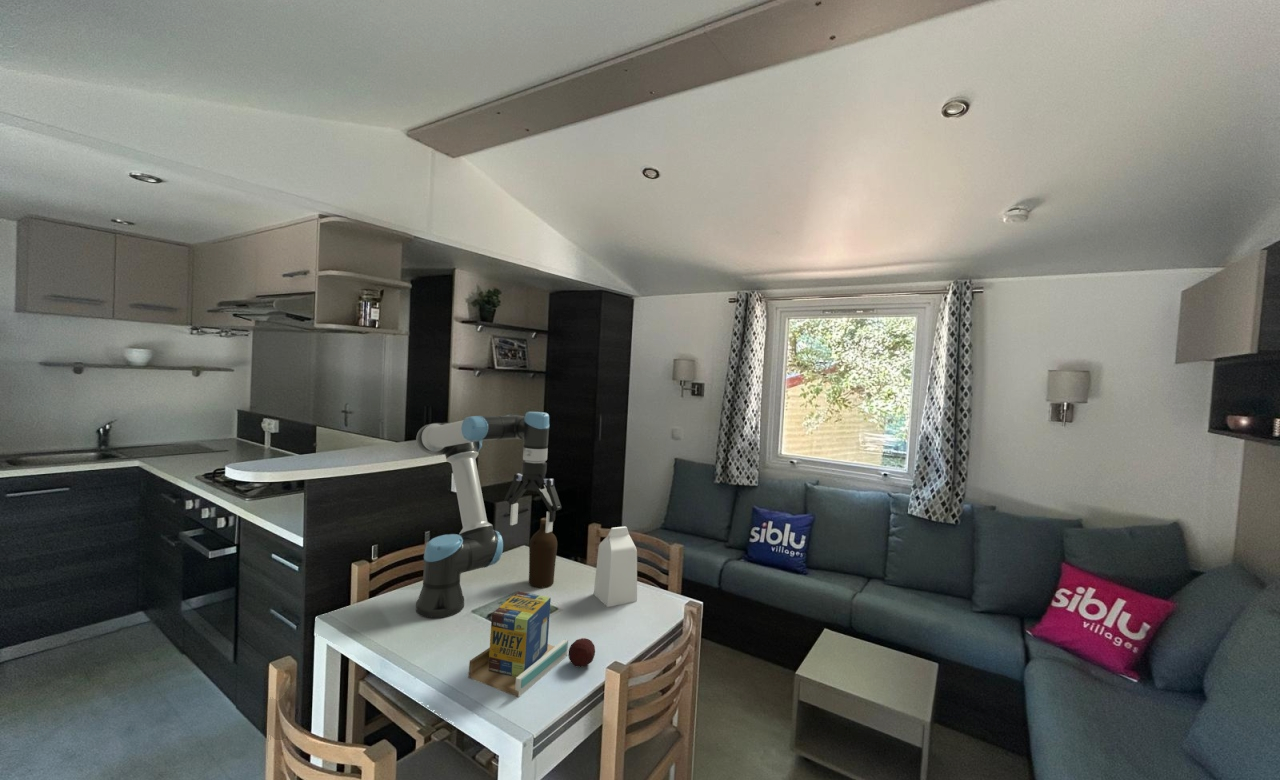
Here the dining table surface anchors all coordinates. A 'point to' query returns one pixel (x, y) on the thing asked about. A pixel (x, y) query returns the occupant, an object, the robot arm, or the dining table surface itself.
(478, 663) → the back lip
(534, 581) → the olive oil
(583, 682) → the dining table surface
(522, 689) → the rail
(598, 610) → the dining table surface
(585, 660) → the dark red ball
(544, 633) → the protein box
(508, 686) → the shelf board
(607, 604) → the milk
